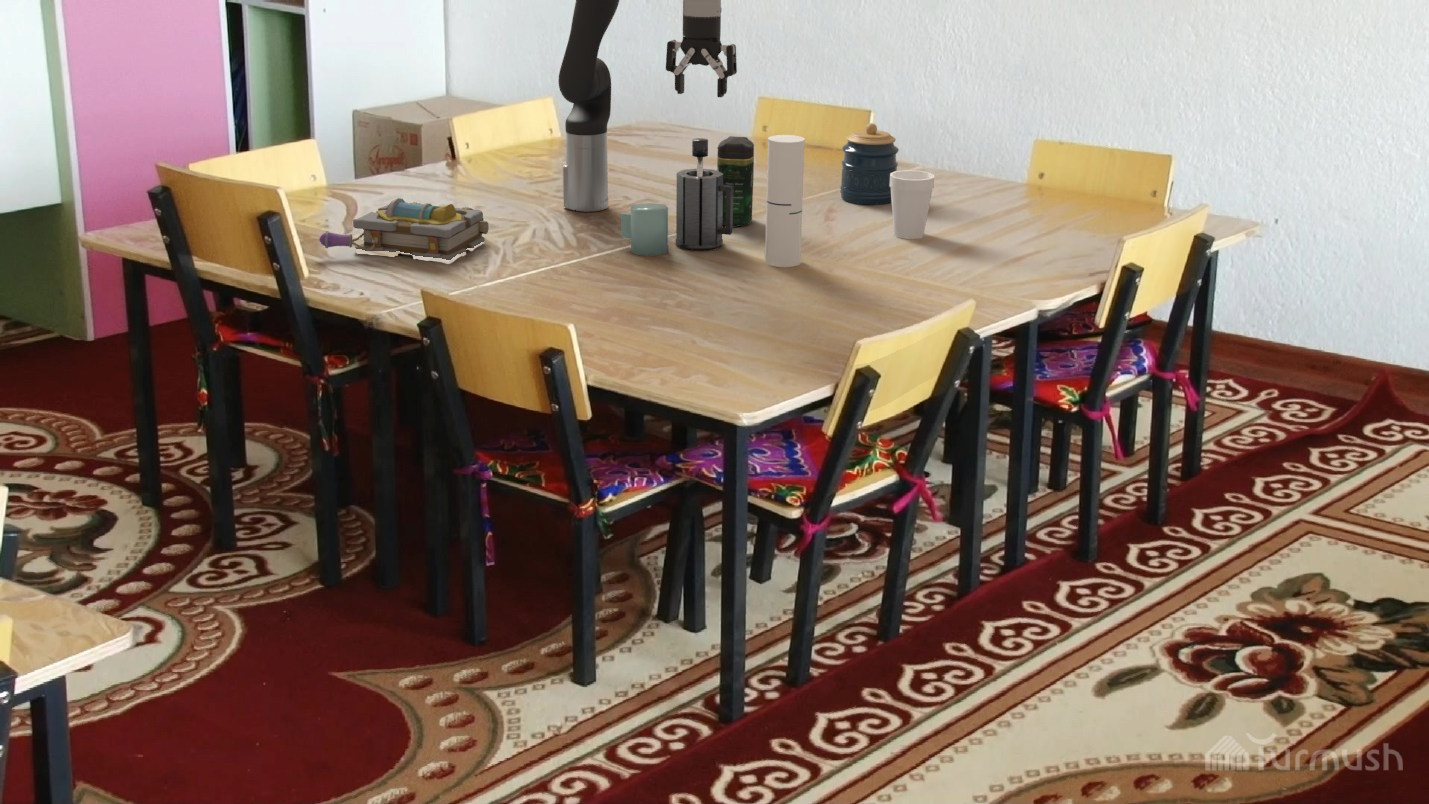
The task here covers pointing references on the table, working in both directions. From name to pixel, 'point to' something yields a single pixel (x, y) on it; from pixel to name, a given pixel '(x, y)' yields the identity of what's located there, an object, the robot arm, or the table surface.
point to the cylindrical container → (784, 200)
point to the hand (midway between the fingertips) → (700, 95)
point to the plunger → (700, 153)
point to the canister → (868, 166)
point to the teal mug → (646, 229)
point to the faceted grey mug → (702, 210)
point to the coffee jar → (737, 176)
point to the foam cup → (910, 202)
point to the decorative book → (416, 230)
